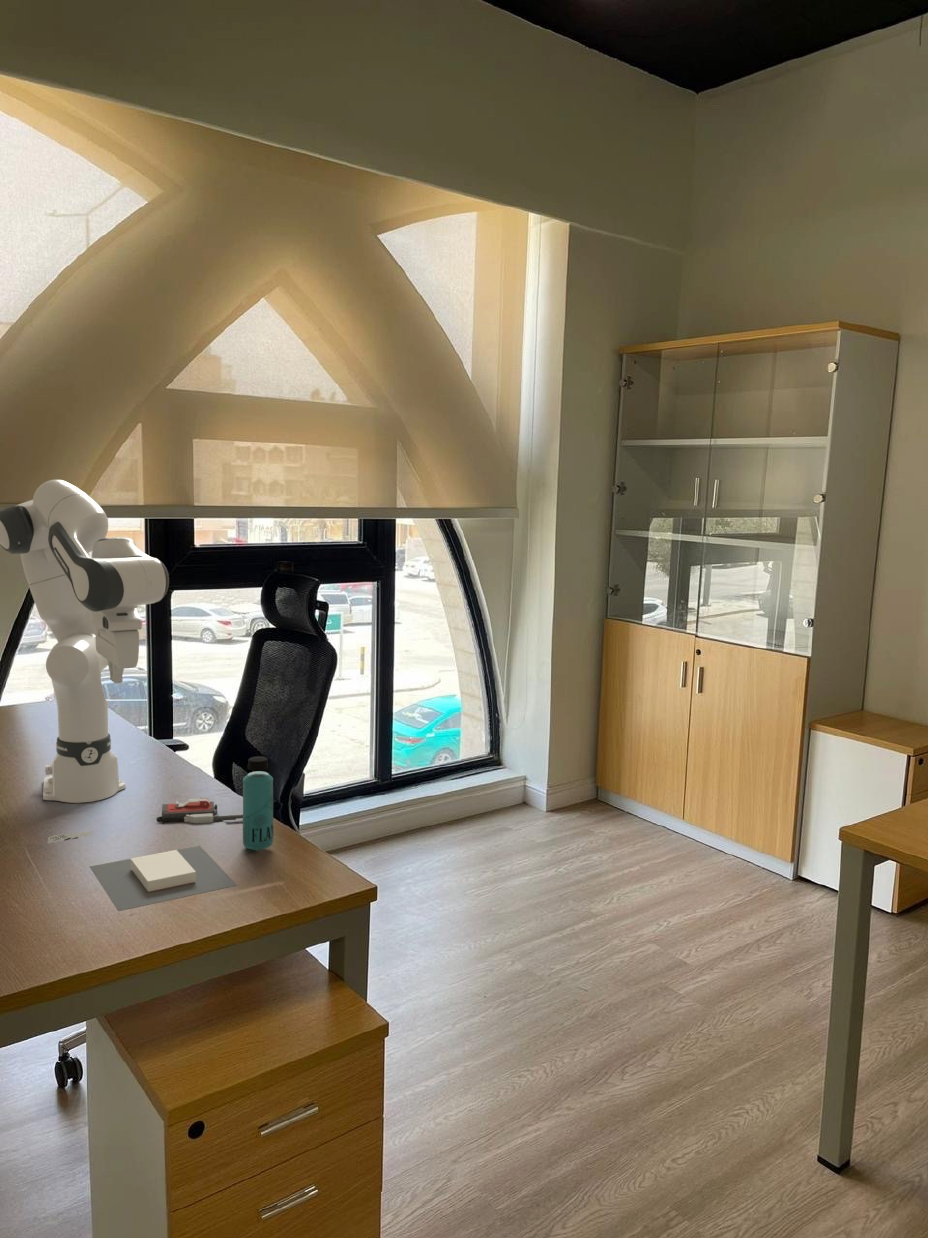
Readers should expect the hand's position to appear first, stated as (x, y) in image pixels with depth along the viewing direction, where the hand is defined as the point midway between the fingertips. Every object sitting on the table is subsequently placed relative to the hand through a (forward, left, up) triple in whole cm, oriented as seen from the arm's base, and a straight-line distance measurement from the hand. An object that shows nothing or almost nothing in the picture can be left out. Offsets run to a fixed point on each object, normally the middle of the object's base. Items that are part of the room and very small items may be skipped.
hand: (116, 681), depth 201 cm
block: (+18, +2, -32) cm, 37 cm away
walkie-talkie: (-3, +19, -35) cm, 40 cm away
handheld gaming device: (0, -10, -35) cm, 36 cm away
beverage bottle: (+20, +23, -34) cm, 46 cm away
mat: (+24, +2, -34) cm, 42 cm away
